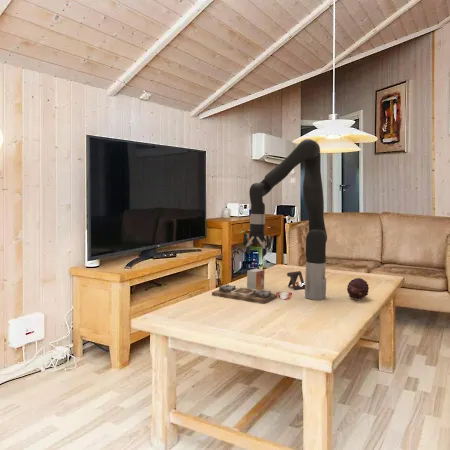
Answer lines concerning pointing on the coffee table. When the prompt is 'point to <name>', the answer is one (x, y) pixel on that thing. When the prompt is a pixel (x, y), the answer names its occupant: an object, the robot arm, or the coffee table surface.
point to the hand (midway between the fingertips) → (256, 254)
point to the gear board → (245, 294)
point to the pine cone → (358, 288)
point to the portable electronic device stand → (293, 279)
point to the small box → (255, 279)
